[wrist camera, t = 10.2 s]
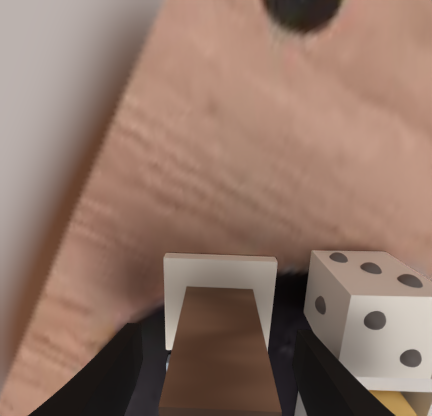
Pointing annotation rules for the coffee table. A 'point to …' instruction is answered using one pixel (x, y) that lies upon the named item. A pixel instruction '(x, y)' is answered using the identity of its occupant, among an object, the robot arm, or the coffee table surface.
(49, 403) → the robot arm
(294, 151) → the coffee table surface
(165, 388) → the brown rectangular block
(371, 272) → the die
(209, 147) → the coffee table surface
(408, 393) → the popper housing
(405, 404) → the dome button
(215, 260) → the tile
